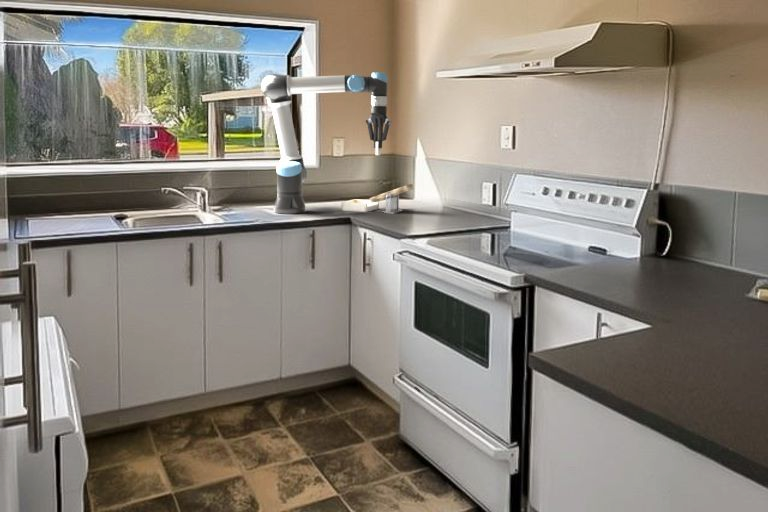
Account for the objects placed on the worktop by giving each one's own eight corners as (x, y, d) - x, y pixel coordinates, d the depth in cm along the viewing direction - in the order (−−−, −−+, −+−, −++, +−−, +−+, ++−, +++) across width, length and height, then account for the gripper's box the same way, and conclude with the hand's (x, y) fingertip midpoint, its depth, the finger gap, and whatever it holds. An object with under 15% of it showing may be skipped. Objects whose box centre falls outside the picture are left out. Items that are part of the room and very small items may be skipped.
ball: (347, 203, 362) (353, 199, 361) (350, 202, 365) (356, 199, 364) (350, 209, 362) (356, 206, 360) (354, 208, 365) (359, 205, 364)
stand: (381, 212, 351) (381, 193, 349) (391, 209, 361) (391, 191, 359) (393, 213, 349) (393, 193, 347) (402, 210, 359) (402, 191, 357)
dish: (341, 210, 358) (341, 202, 357) (354, 207, 371) (354, 199, 370) (366, 212, 353) (366, 203, 352) (378, 208, 365) (378, 200, 365)
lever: (370, 203, 355) (368, 198, 355) (382, 200, 367) (380, 195, 367) (407, 190, 346) (406, 185, 345) (418, 187, 358) (417, 182, 358)
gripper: (363, 105, 355) (362, 154, 360) (387, 105, 350) (386, 156, 355) (370, 105, 362) (369, 154, 367) (394, 105, 357) (393, 155, 361)
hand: (377, 155), depth 361 cm, fingers closed
